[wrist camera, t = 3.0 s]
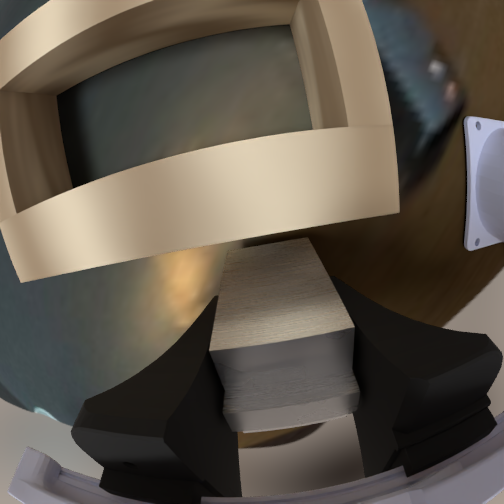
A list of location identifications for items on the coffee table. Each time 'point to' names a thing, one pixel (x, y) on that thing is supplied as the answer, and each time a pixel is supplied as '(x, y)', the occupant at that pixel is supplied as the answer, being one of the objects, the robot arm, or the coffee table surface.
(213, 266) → the coffee table surface
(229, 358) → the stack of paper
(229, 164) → the tan wooden rectangular frame
